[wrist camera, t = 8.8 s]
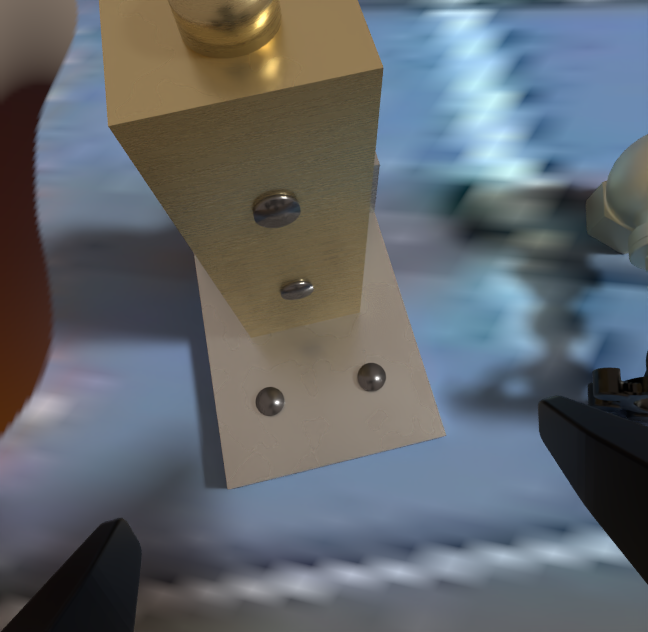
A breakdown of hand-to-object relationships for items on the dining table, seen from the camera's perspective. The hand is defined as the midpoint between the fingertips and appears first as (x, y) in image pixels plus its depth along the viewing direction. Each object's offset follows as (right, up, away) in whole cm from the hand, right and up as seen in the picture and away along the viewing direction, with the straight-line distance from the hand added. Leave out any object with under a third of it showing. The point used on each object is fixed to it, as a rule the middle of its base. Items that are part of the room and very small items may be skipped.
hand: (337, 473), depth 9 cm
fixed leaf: (-1, +3, +11) cm, 12 cm away
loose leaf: (-2, +5, +11) cm, 12 cm away
